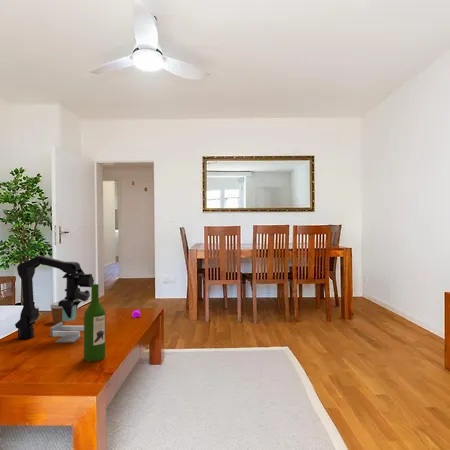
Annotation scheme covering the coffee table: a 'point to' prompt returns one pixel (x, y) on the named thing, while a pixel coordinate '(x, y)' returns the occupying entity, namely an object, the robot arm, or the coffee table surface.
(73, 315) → the block
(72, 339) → the coaster
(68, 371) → the coffee table surface
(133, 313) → the crystal
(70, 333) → the channel
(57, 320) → the disposable coffee cup
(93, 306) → the wine bottle
